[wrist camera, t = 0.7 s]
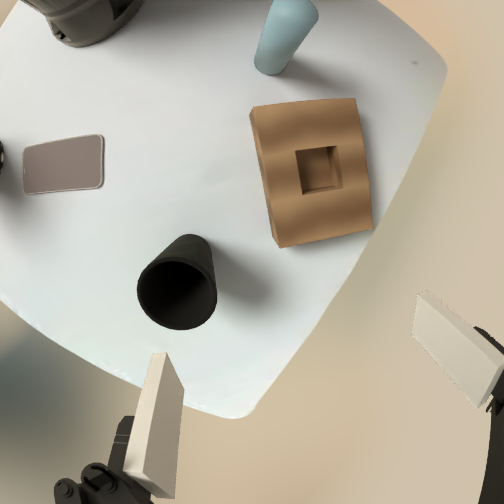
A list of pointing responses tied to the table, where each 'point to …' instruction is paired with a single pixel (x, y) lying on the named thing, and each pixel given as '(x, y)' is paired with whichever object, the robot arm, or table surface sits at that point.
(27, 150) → the smartphone
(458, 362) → the robot arm
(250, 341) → the table surface
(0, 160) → the white-spotted black cylinder
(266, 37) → the pin
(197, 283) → the cup
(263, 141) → the bore block
